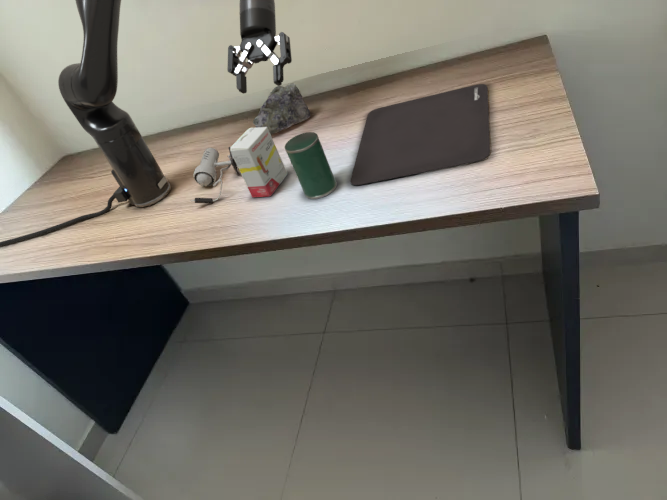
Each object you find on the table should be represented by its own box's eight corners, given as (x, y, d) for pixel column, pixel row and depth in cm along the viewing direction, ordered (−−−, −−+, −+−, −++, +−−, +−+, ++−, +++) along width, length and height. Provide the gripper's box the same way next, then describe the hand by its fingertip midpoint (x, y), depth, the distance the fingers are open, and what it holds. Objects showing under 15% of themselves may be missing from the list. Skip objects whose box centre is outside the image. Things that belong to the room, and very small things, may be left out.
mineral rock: (258, 142, 154) (241, 105, 149) (266, 122, 163) (250, 86, 157) (308, 129, 151) (292, 91, 145) (313, 108, 159) (299, 71, 153)
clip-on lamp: (240, 210, 137) (253, 152, 148) (228, 189, 132) (243, 131, 144) (190, 216, 140) (207, 159, 151) (177, 196, 135) (195, 139, 147)
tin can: (300, 201, 126) (279, 153, 119) (310, 181, 130) (291, 135, 124) (331, 197, 123) (311, 148, 117) (340, 177, 128) (322, 129, 121)
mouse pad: (490, 159, 114) (490, 158, 114) (348, 187, 123) (348, 186, 123) (487, 82, 138) (487, 81, 138) (368, 111, 147) (368, 110, 147)
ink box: (270, 197, 131) (247, 148, 124) (251, 198, 133) (227, 150, 127) (289, 173, 136) (268, 125, 130) (270, 174, 139) (248, 127, 132)
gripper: (295, 14, 136) (298, 87, 135) (238, 29, 142) (240, 99, 141) (278, -2, 130) (280, 76, 128) (219, 15, 136) (221, 89, 134)
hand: (259, 88), depth 134 cm, fingers open, 8 cm apart
